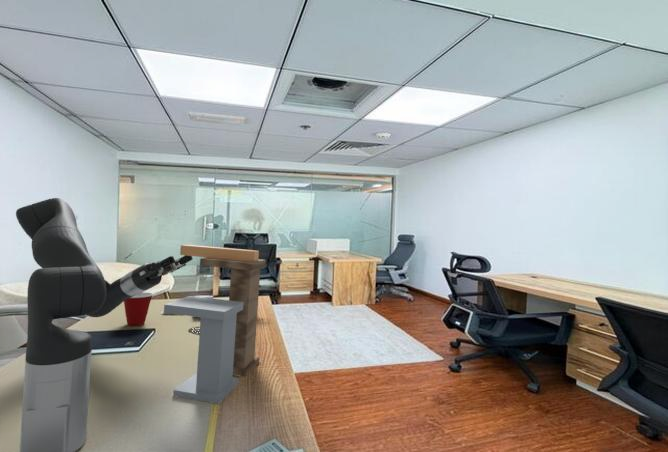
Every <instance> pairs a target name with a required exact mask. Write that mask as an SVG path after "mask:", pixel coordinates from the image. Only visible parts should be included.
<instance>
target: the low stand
mask: <svg viewBox="0 0 668 452" xmlns="http://www.w3.org/2000/svg"><path fill="white" fill-rule="evenodd" d="M195 296H196V295H195ZM195 296H194V295H188V296H185V297H182V298H180V299H176V300H174V301H171V302H166V303H165V304H164V306H163V310H164V313H171V314H170V315H178V316H179V315H180V316H187V317H188V316H189V317H192V316H195V317H194V318H200V321H199V327H200V334H199V335H198V336H199V337H198V338H199V339H198V349H197V350H198V352H197V353H198V354H197V368H196V369H197V370H196V372H195V373H194V374H193V375H191V376H190V377H189V378H187V379H186V380H185V381H184V382H182V383H181V384H179V385H178V386H177V387H176V388H174V389H173V393H172V394H173V395H172V396H173V397H175V396H177V398H183V399H186V400H187V399H188V400H194V401H198V400H200V401H199V402H204V401H206V402H205V403H210V402H212V403H211V404H217V405H219V404H220V403H221V402H222V401H223V400H224V399H225V398H226V397H227V396H228V395H229V394H230V393H231V392H232V391H233V389H234V388H236V387H237V386H238V385H239V377H234V375H233V363H234V348H235V333H236V318H237V313H238V312H240V311H241V310H243V303H244V302H238V301H230V300H229V299H220V298H213V299H212V298H204V297H195Z"/></svg>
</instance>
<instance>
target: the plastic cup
mask: <svg viewBox="0 0 668 452" xmlns="http://www.w3.org/2000/svg"><path fill="white" fill-rule="evenodd" d="M153 296H154V293H153V292H142V293H140V294H137V295H135V296H133V297H131V298H129V299H127V300H125V301H123V305H124V311H125V313H124V314H125V318H126V324H127V327H128V326H129V327H138V326H143V325H144V324H145V322H146V319H147V315H148V312H149V309H150V304H151V301H152V298H153Z"/></svg>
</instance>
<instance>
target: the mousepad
mask: <svg viewBox="0 0 668 452" xmlns="http://www.w3.org/2000/svg"><path fill="white" fill-rule="evenodd" d="M192 328H194V327H191V328H189V329H188V333H190V332H192V330H193V329H192ZM198 330H199V331H198ZM195 331H196V332H195ZM193 332H194V333H197V332H198V334H199V335H200V333H199V332H200V329H195V328H194V331H193ZM194 333H193V334H194ZM198 334H197V335H198Z"/></svg>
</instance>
